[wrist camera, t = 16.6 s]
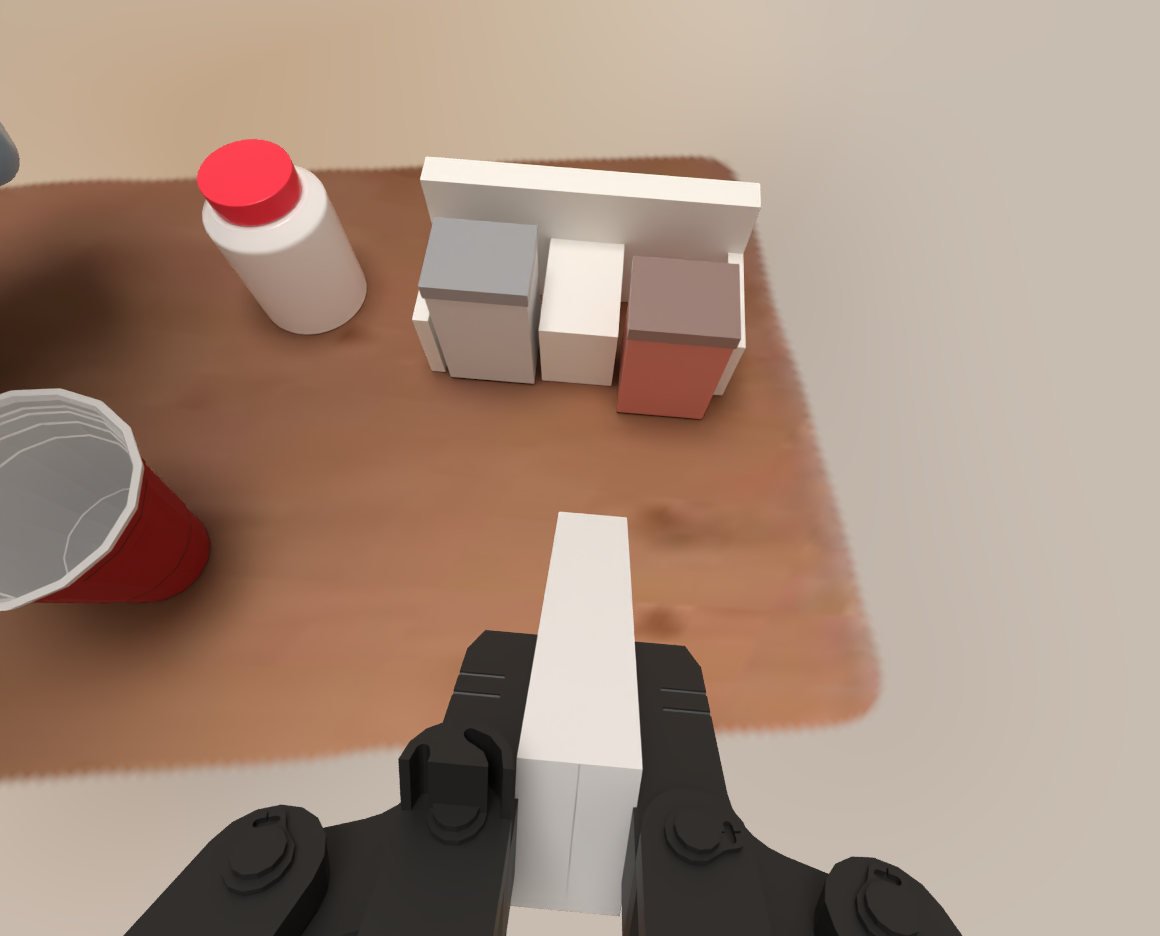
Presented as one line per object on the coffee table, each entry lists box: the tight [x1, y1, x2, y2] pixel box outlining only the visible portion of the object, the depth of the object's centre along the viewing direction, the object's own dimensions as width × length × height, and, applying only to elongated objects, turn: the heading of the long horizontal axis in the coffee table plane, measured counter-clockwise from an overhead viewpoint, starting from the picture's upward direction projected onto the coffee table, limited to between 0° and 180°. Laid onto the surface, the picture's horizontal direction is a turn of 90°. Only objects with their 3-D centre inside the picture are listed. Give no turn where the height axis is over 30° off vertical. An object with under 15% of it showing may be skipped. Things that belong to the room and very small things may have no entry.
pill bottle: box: [197, 139, 367, 335], centre depth 41 cm, size 8×8×11 cm
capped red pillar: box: [617, 255, 741, 419], centre depth 38 cm, size 6×5×10 cm
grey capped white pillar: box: [418, 217, 541, 384], centre depth 39 cm, size 6×5×10 cm
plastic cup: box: [0, 388, 210, 611], centre depth 32 cm, size 11×11×12 cm
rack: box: [412, 157, 761, 395], centre depth 40 cm, size 21×10×10 cm, turn 85°
